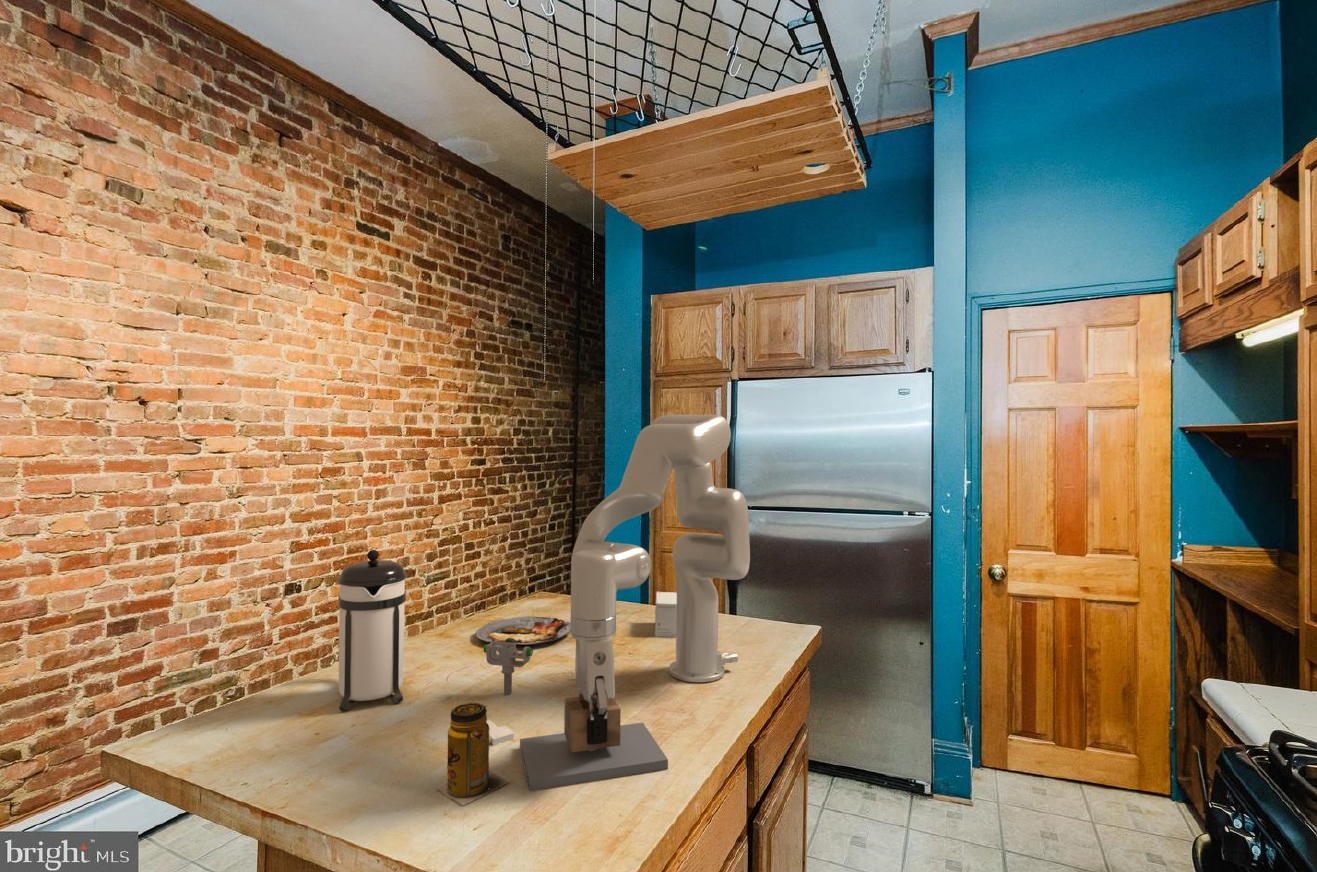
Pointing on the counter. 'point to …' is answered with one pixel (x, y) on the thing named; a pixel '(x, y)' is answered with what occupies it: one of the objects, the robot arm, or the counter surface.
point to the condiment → (469, 755)
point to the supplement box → (665, 614)
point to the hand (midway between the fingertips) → (592, 731)
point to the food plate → (524, 630)
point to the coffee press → (371, 630)
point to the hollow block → (577, 723)
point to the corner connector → (499, 733)
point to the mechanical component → (507, 660)
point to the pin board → (589, 758)
